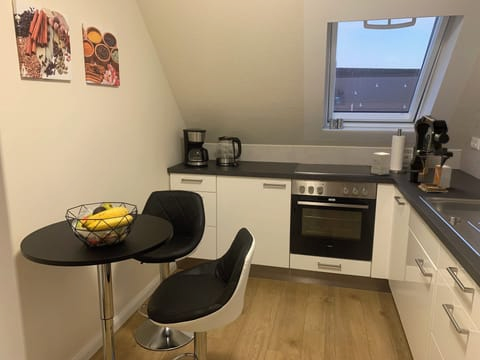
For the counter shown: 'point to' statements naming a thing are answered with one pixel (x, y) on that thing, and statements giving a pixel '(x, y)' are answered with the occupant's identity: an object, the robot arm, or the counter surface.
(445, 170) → the small box
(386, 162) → the supplement box
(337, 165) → the counter surface
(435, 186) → the wooden tray
